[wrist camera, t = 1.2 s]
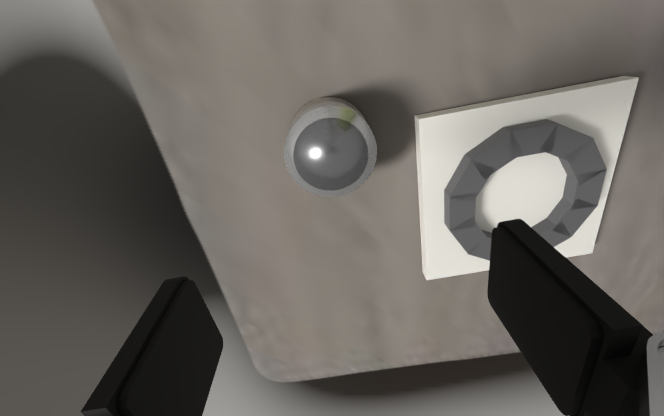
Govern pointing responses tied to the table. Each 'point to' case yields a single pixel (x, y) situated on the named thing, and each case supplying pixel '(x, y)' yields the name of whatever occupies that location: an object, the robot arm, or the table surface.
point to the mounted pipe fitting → (518, 171)
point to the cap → (330, 147)
